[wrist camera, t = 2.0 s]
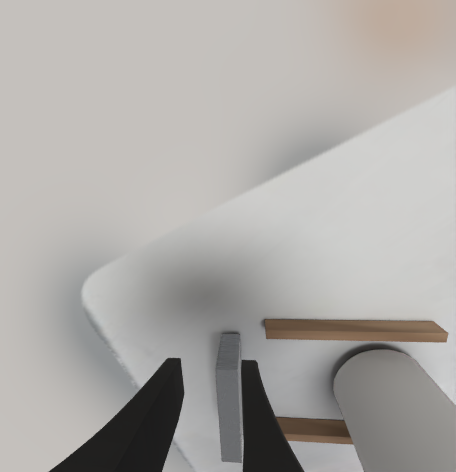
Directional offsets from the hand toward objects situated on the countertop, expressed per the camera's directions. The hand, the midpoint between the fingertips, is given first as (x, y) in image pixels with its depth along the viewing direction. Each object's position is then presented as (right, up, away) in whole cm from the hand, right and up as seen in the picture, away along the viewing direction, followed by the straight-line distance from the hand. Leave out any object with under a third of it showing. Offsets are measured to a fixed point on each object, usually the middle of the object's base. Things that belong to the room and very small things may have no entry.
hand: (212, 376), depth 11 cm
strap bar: (+1, -6, +11) cm, 13 cm away
